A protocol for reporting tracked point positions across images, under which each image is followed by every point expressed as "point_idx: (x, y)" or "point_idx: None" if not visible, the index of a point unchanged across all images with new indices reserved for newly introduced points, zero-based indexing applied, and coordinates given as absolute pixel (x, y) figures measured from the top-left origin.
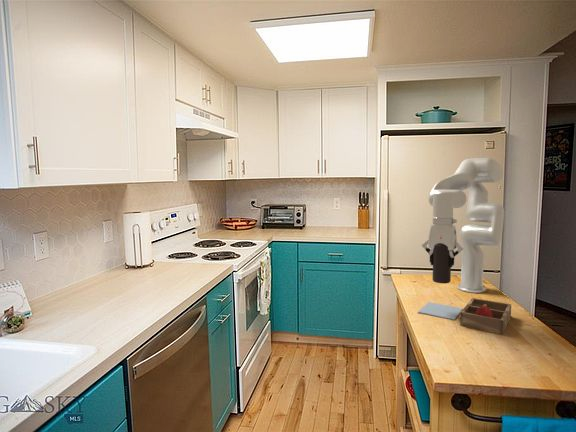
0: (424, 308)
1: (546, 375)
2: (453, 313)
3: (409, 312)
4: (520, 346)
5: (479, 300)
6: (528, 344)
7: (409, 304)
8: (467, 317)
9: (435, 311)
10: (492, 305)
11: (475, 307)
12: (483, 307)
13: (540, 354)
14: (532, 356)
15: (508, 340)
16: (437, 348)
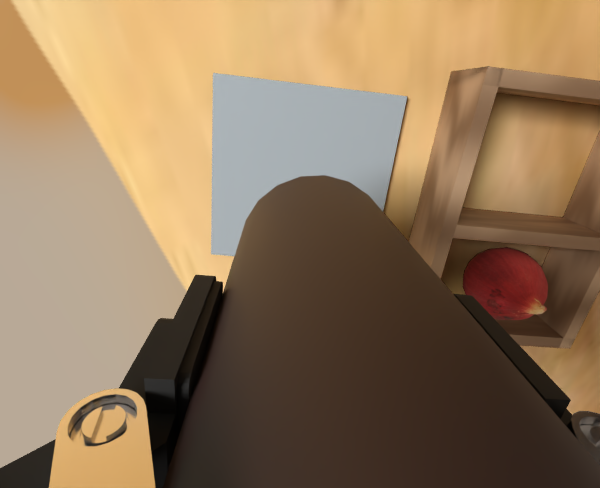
0: (224, 196)
1: None
2: None
3: (177, 262)
4: (559, 372)
5: (524, 90)
6: (588, 351)
7: (130, 150)
8: None
9: None
10: (580, 99)
11: (482, 240)
12: (523, 316)
13: (596, 394)
14: (570, 412)
15: (536, 349)
16: None
